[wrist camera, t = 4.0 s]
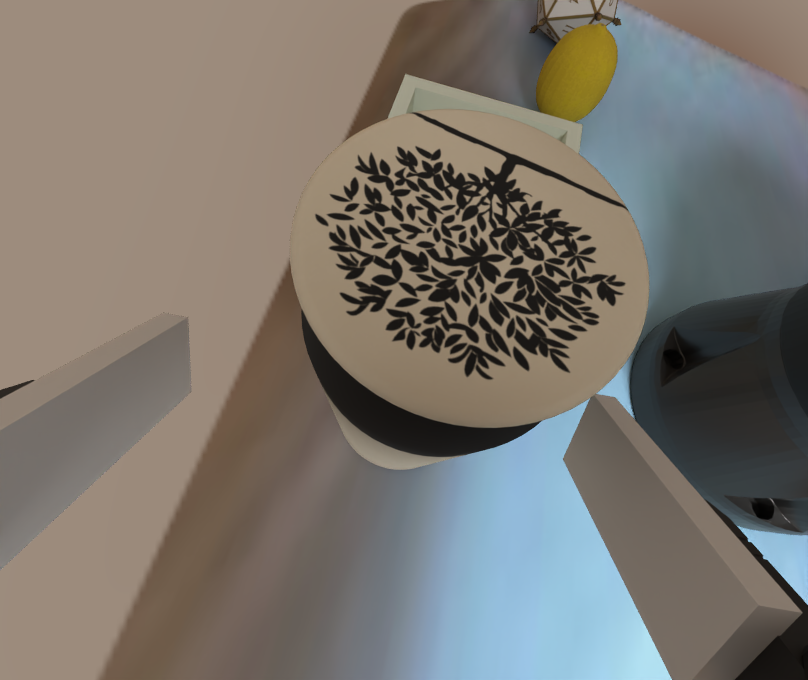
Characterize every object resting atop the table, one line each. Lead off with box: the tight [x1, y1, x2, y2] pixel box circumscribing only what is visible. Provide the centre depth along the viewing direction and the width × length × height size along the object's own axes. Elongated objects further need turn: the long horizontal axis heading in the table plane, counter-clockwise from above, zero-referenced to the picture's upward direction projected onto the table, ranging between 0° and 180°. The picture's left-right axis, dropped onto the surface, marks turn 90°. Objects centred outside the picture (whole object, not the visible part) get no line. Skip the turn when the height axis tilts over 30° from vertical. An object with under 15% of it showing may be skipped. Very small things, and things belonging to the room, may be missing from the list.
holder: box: [388, 74, 583, 154], centre depth 27 cm, size 18×14×6 cm
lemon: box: [536, 23, 618, 122], centre depth 31 cm, size 6×6×8 cm
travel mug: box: [290, 109, 649, 470], centre depth 16 cm, size 8×8×18 cm
